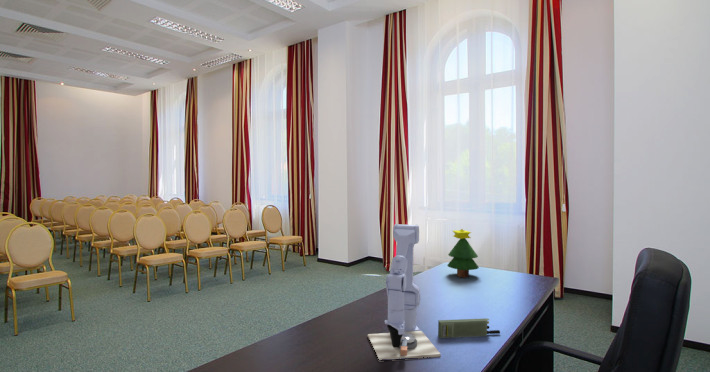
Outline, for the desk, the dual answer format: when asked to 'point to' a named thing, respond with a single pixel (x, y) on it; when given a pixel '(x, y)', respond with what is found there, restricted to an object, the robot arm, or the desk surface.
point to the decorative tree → (462, 255)
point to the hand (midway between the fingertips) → (395, 346)
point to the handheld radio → (464, 328)
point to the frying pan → (406, 342)
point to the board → (395, 352)
